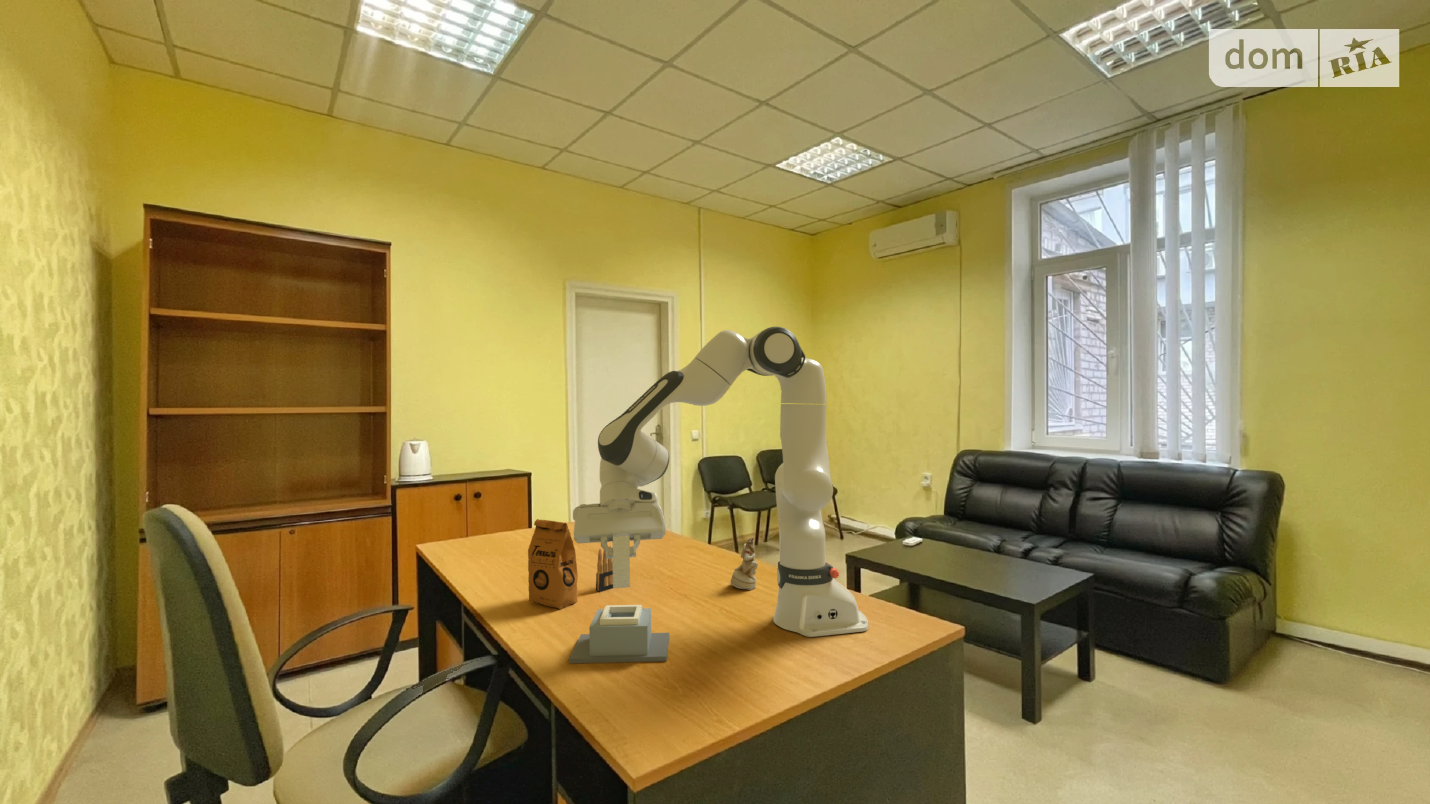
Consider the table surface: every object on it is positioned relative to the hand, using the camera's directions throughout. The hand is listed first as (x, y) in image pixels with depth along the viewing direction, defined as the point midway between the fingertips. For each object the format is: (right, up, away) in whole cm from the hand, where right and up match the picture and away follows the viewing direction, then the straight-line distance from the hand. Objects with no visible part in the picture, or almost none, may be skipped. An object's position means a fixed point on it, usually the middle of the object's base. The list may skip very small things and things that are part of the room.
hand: (621, 556), depth 122 cm
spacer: (0, -13, +1) cm, 13 cm away
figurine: (+29, -20, +41) cm, 54 cm away
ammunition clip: (-9, -20, +42) cm, 48 cm away
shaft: (0, -6, +1) cm, 6 cm away
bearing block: (0, -20, +1) cm, 20 cm away
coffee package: (-23, -21, +30) cm, 43 cm away
